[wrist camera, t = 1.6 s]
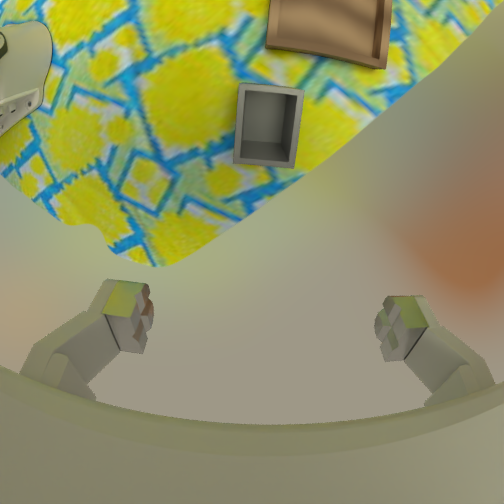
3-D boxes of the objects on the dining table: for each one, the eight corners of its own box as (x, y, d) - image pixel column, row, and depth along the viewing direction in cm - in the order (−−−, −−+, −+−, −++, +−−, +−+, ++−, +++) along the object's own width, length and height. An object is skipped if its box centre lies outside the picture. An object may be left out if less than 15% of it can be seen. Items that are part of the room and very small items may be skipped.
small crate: (284, 147, 35) (293, 168, 27) (237, 143, 34) (233, 163, 27) (291, 87, 30) (304, 90, 23) (242, 82, 30) (239, 83, 23)
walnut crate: (374, 69, 28) (385, 69, 25) (265, 48, 27) (266, 44, 24) (381, -18, 20) (392, -24, 17) (274, -43, 19) (276, -53, 16)
